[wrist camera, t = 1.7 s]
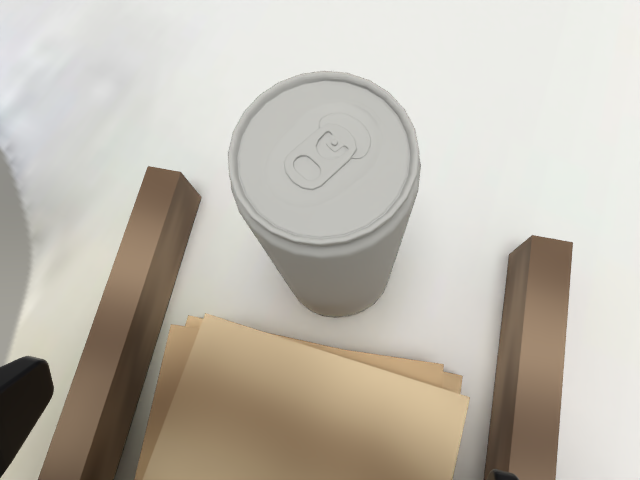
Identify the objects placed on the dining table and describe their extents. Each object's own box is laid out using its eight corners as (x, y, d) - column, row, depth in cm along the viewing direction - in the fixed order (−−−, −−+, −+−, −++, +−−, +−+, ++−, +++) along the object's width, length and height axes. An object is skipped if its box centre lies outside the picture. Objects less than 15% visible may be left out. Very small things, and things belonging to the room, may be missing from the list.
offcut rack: (503, 718, 17) (560, 846, 12) (44, 577, 20) (-55, 639, 15) (544, 260, 22) (596, 226, 17) (172, 191, 24) (127, 144, 20)
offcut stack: (425, 594, 19) (447, 657, 14) (141, 514, 20) (83, 550, 16) (455, 372, 21) (482, 369, 17) (199, 316, 22) (162, 299, 18)
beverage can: (410, 270, 22) (469, 150, 11) (337, 342, 22) (318, 295, 10) (339, 203, 24) (325, 32, 12) (267, 269, 23) (181, 153, 11)
